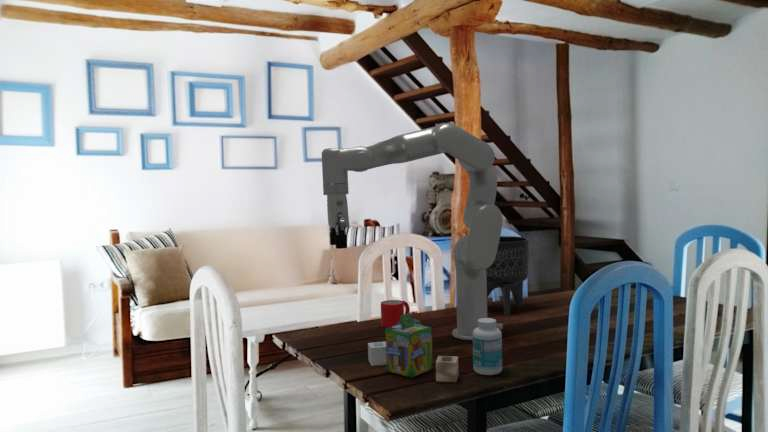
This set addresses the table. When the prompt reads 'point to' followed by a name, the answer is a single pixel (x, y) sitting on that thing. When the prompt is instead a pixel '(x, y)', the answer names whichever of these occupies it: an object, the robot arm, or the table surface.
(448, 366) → the marked block beech
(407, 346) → the chalk box
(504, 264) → the planter
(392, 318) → the mug
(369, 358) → the marked block white
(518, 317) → the table surface
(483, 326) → the pill bottle
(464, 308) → the robot arm
